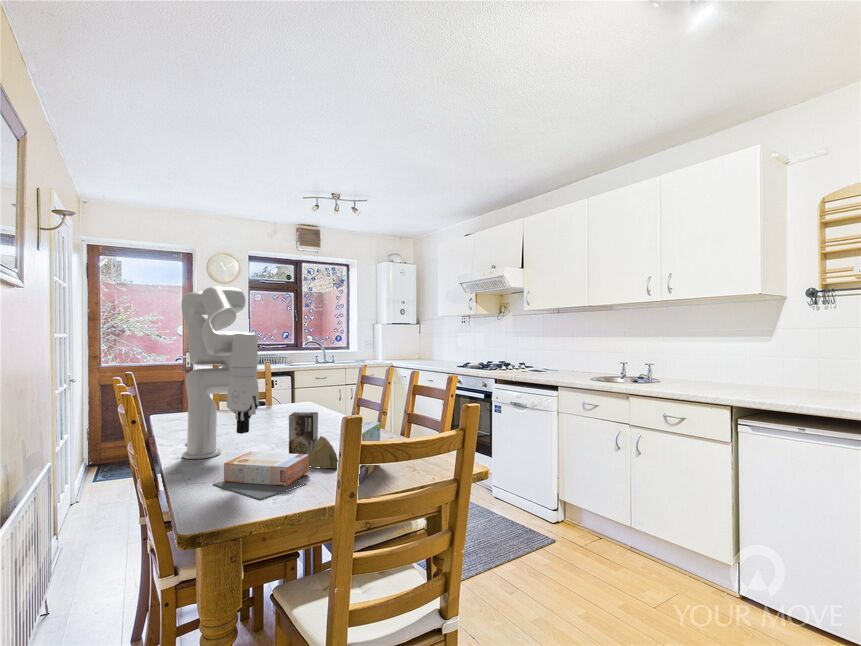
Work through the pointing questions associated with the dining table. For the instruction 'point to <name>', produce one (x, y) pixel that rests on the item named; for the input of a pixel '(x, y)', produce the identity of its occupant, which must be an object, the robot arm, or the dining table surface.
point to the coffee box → (303, 432)
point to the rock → (323, 455)
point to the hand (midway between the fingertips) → (242, 432)
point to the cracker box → (266, 468)
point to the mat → (257, 488)
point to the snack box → (369, 434)
